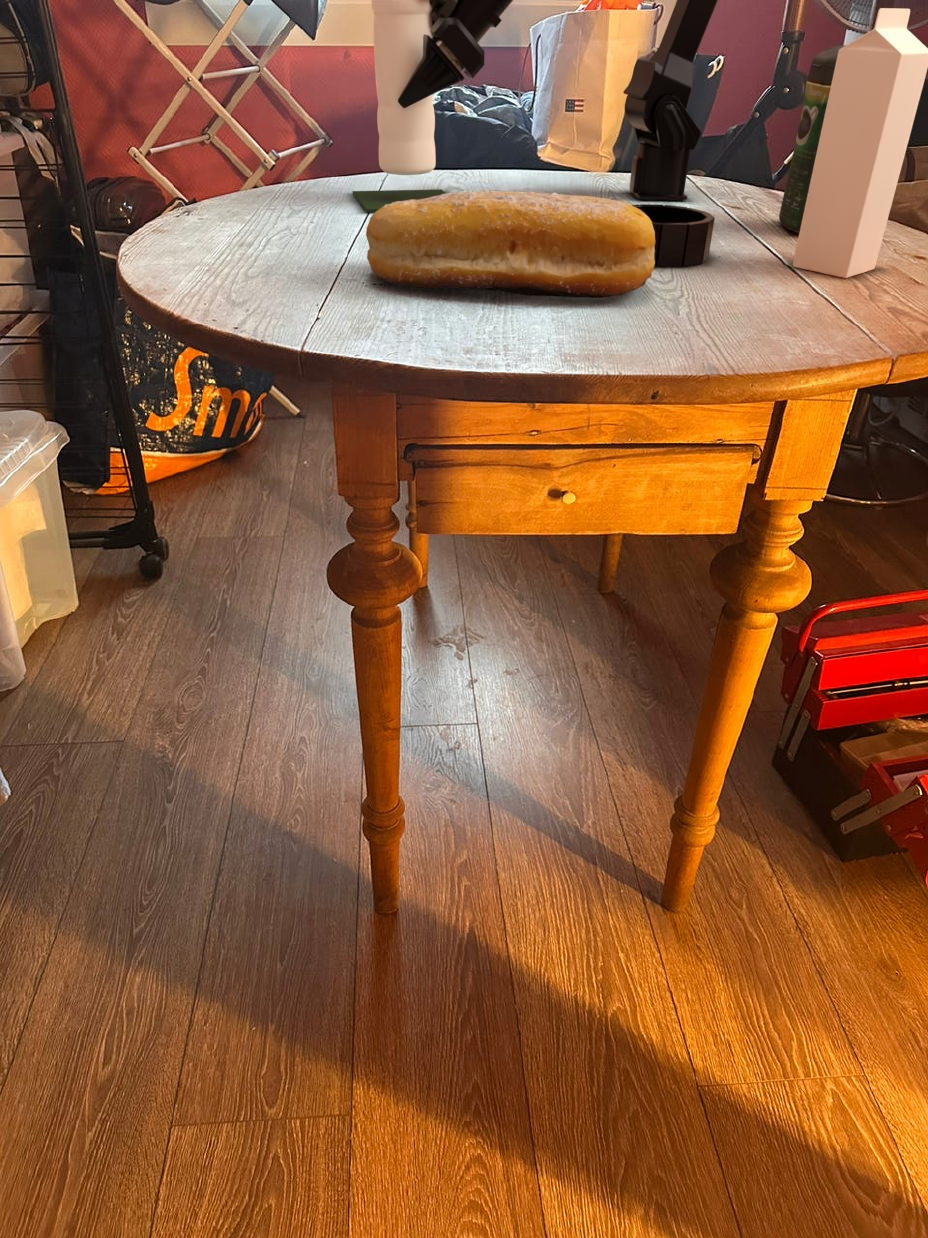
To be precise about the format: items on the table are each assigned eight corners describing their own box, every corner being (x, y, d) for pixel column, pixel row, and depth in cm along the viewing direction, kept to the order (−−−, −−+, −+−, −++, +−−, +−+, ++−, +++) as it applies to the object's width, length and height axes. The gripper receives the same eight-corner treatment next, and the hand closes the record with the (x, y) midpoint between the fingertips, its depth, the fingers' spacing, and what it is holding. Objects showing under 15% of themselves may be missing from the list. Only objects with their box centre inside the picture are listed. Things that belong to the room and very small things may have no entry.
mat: (441, 192, 123) (441, 189, 123) (462, 210, 113) (463, 206, 113) (352, 194, 121) (352, 190, 120) (366, 212, 111) (366, 209, 111)
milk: (874, 269, 93) (945, 9, 81) (845, 279, 90) (914, 9, 78) (820, 257, 97) (880, 7, 85) (790, 266, 94) (847, 6, 81)
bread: (656, 312, 79) (670, 212, 75) (353, 296, 81) (348, 198, 76) (647, 272, 90) (658, 183, 86) (380, 260, 92) (377, 172, 87)
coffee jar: (861, 240, 105) (910, 48, 94) (791, 237, 105) (832, 45, 94) (835, 222, 113) (877, 43, 102) (770, 220, 113) (806, 41, 102)
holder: (691, 243, 101) (698, 204, 99) (719, 267, 93) (726, 224, 90) (600, 243, 100) (604, 203, 98) (619, 266, 92) (624, 223, 90)
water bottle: (384, 176, 112) (372, -83, 97) (375, 166, 117) (363, -80, 103) (441, 174, 113) (438, -82, 98) (429, 164, 118) (425, -79, 104)
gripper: (421, -68, 109) (334, 41, 113) (457, -76, 95) (356, 50, 99) (483, 11, 115) (399, 113, 120) (526, 16, 101) (429, 131, 105)
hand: (395, 101), depth 110 cm, fingers closed on water bottle, 7 cm apart
